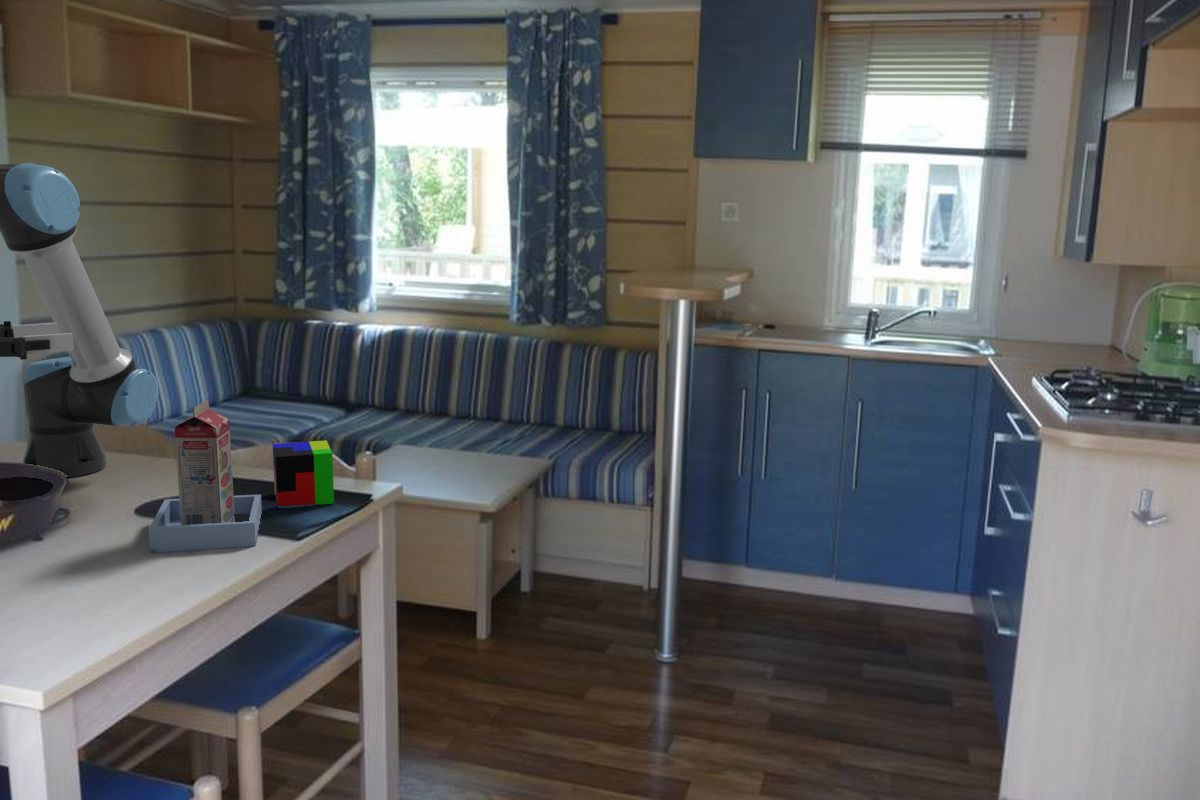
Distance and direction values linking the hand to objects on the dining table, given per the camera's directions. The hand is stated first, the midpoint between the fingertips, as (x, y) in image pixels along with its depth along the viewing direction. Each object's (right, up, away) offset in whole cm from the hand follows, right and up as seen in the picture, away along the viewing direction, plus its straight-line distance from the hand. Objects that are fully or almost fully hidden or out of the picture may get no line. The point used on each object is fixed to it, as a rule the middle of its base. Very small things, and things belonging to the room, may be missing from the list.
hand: (65, 336), depth 161 cm
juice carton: (+20, -33, +8) cm, 39 cm away
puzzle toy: (+30, -29, +28) cm, 51 cm away
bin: (+20, -33, +8) cm, 40 cm away
